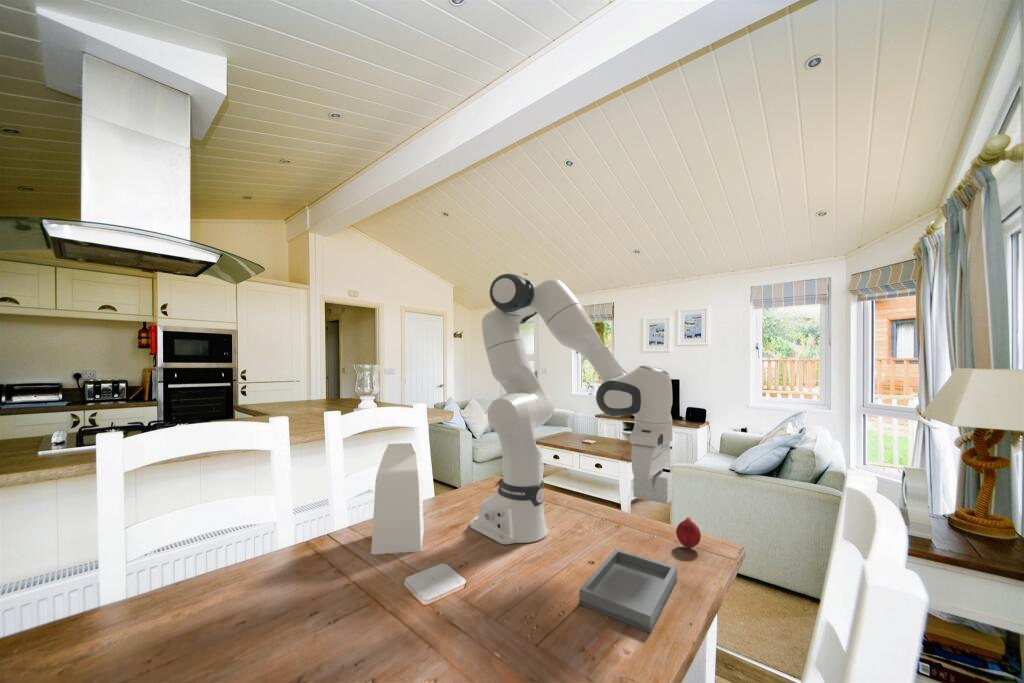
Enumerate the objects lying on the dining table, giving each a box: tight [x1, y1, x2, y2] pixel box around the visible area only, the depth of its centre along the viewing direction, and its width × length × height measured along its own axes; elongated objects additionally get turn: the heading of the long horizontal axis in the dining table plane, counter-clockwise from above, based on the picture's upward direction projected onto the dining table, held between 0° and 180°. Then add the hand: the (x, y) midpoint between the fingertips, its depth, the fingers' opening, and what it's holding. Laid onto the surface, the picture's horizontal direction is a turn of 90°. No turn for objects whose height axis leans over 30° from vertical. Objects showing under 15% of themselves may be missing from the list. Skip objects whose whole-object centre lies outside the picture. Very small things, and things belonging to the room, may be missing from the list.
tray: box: [578, 548, 678, 634], centre depth 84 cm, size 14×20×3 cm
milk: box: [370, 441, 425, 555], centre depth 105 cm, size 12×12×26 cm
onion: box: [675, 516, 702, 550], centre depth 102 cm, size 6×6×8 cm
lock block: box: [633, 471, 674, 505], centre depth 98 cm, size 8×5×6 cm, turn 55°
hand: (652, 488), depth 98 cm, fingers closed on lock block, 5 cm apart
